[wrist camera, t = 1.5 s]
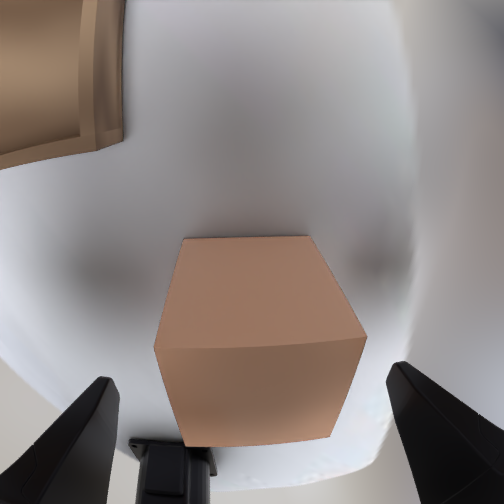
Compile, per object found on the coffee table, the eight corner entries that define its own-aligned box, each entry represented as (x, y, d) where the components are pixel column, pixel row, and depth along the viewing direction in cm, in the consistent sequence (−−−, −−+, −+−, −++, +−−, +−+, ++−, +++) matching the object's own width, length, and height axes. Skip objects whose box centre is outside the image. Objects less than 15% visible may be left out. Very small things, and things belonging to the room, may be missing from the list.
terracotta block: (298, 331, 14) (329, 436, 9) (194, 335, 14) (185, 446, 9) (310, 235, 12) (367, 336, 7) (183, 238, 12) (153, 347, 6)
